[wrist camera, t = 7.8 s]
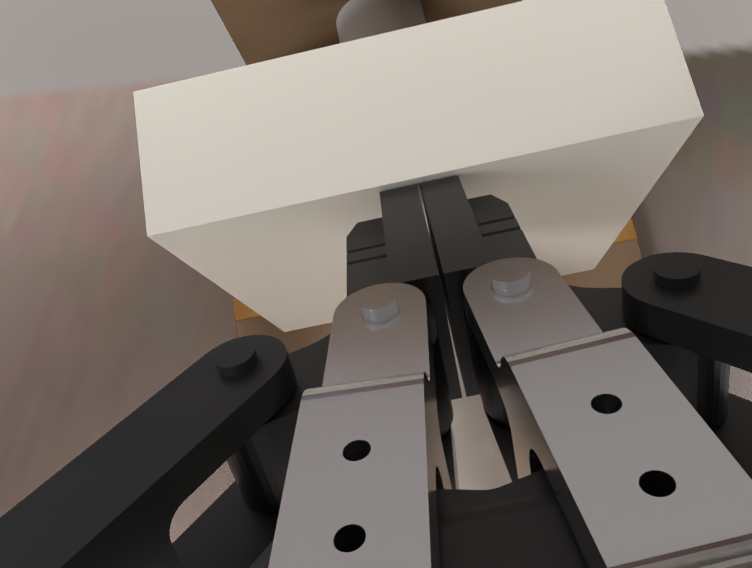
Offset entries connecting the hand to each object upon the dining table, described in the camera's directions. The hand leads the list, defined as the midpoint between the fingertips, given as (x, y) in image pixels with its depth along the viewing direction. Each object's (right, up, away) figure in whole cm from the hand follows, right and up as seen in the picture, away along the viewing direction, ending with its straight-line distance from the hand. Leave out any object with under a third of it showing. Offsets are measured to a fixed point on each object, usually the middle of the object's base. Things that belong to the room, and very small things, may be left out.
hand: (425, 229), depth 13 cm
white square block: (+1, 0, +9) cm, 9 cm away
